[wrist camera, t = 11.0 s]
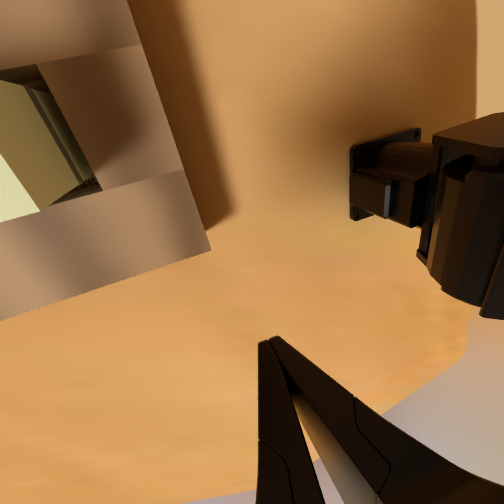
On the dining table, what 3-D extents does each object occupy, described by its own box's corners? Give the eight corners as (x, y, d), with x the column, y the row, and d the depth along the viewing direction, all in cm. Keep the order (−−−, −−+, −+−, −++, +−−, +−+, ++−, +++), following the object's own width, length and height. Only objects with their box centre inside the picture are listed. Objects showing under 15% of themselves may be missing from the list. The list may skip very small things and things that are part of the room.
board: (94, -92, 11) (72, -161, 8) (205, 233, 19) (211, 250, 16) (-335, -54, 8) (-557, -133, 6) (3, 298, 16) (-27, 330, 14)
